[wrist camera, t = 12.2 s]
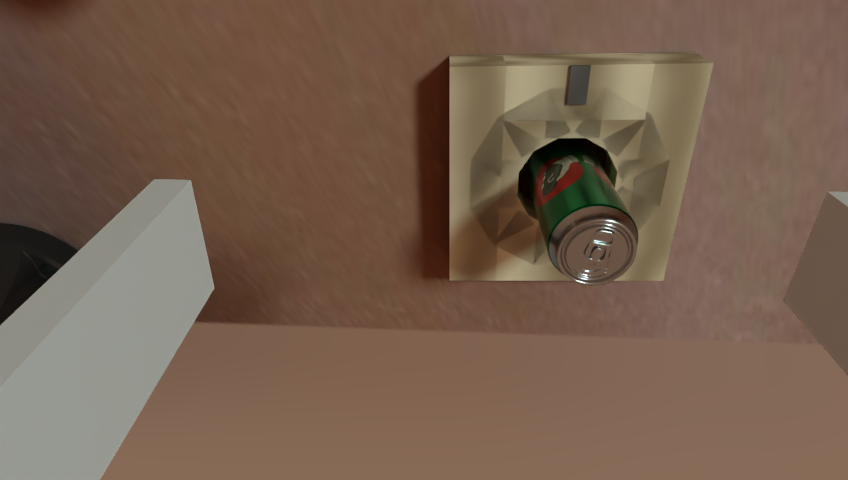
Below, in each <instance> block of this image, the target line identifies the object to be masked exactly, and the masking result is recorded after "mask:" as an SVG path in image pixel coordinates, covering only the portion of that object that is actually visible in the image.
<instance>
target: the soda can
mask: <svg viewBox="0 0 848 480" xmlns="http://www.w3.org/2000/svg"><path fill="white" fill-rule="evenodd" d="M526 180H527V183H528V187H529V190H530V194H531V197H532V201H533V204H534V207H535V211H536V214H537V218H538V221H539V225H540V228H541V232H542V235H543V238H544V242H545V245H546V249H547V252H548V255H549V258H550V261H551V262H552V264H553V265H554V267H555V268H556V269H557V270H558V271H559V272H561V273H562V274H564V275H565V276H566V277H567V278H569V279H570V280H572V281H573V282H576V283H578V284H582V285H589V286H596V285H602V284H606V283H609V282H612V281H614V280H616V279H617V278H619V277H621V276H622V275H623V274H624V273H625V272H626V271H627V270H628V269H629V268H630V267H631V265H632V264H633V262H634V260H635V257H636V252H637V245H638V230H637V226H636V224H635V222H634V220H633V218H632V217H631V215H630V213H629V212H628V210H627V208H626V207H625V205H624V203H623V202H622V200H621V198H620V197H619V195H618V193H617V192H616V190H615V188H614V186H613V185H612V183H611V181H610V180H609V178H608V176H607V175H606V173H605V171H604V170H603V168H602V166H601V165H600V163H599V161H598V159H597V158H596V156H595V154H594V153H593V151H592V150H591V148H590V147H589V146H588V145H587V144H585V143H584V142H582V141H580V140H578V139H575V138H558V139H556V140H554V141H552V142H550V143H548V144H546V145H545V146H543V147H541V148H539V149H537V150H535V151H534V152H533V153H532V154H531V156H530V158H529V160H528V162H527V166H526Z"/></svg>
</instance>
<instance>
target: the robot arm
mask: <svg viewBox="0 0 848 480" xmlns="http://www.w3.org/2000/svg"><path fill="white" fill-rule="evenodd" d="M213 290H214V283H213V279H212V274H211V270H210V265H209V261H208V256H207V252H206V247H205V242H204V238H203V233H202V229H201V224H200V220H199V215H198V211H197V206H196V202H195V197H194V193H193V188H192V183H191V180H164V179H154V180H153V181H152V182H151V183H150V184H149V185H148V186H147V187H146V188H145V189H144V190H143V191H142V192H141V193H140V194H138V195H137V196H136V197H135V198H134V199H133V200H132V201H131V202H130V203H129V204H128V205H127V206H126V207H125V208H124V209H123V210H122V211H121V212H119V213H118V214H117V215H116V216H115V217H114V218H113V219H112V220H111V221H110V222H109V223H108V224H107V225H106V226H105V227H104V228H103V229H102V230H100V231H99V232H98V233H97V234H96V235H95V236H94V237H93V238H92V239H91V240H90V241H89V242H88V243H87V244H86V245H85V246H84V247H83V248H81V249H80V250H79V251H77V250H76V249H74V248H73V247H71V246H70V245H68V244H67V243H65V242H63V241H61V240H59V239H57V238H55V237H53V236H51V235H49V234H46V233H44V232H41V231H38V230H35V229H32V228H28V227H24V226H20V225H13V224H3V223H0V480H100V479H101V477H102V475H103V474H104V472H105V470H106V469H107V467H108V465H109V464H110V462H111V460H112V458H113V457H114V455H115V454H116V451H117V450H118V448H119V447H120V445H121V443H122V442H123V440H124V438H125V437H126V435H127V433H128V432H129V430H130V428H131V427H132V425H133V423H134V422H135V420H136V418H137V417H138V415H139V413H140V412H141V410H142V408H143V406H144V405H145V403H146V401H147V400H148V398H149V397H150V395H151V393H152V392H153V390H154V388H155V387H156V385H157V383H158V382H159V380H160V378H161V376H162V375H163V373H164V372H165V370H166V368H167V367H168V364H169V363H170V362H171V360H172V358H173V356H174V355H175V353H176V351H177V350H178V348H179V346H180V345H181V343H182V341H183V340H184V338H185V336H186V335H187V333H188V331H189V330H190V328H191V326H192V325H193V323H194V321H195V320H196V318H197V316H198V315H199V313H200V311H201V310H202V308H203V306H204V305H205V303H206V301H207V300H208V298H209V296H210V295H211V293H212V291H213ZM783 301H784V302H785V303H786V304H787V306H788V307H789V308H790V309H791V310H792V311H793V313H794V314H795V315H796V316H797V317H798V318H799V320H800V321H801V322H802V323H803V324H804V325H805V327H806V328H807V329H808V330H809V331H810V332H811V333H812V335H813V336H814V337H815V338H816V339H817V340H818V342H819V343H820V344H821V345H822V346H823V347H824V349H825V350H826V351H827V352H828V353H829V354H830V356H831V357H832V358H833V359H834V360H835V361H836V362H837V364H838V365H839V366H840V367H841V368H842V369H843V370H844V372H845V373H846V374H847V375H848V192H827V194H826V197H825V199H824V202H823V204H822V207H821V209H820V212H819V214H818V216H817V219H816V221H815V224H814V226H813V229H812V231H811V234H810V236H809V239H808V241H807V244H806V246H805V248H804V251H803V253H802V256H801V258H800V261H799V263H798V266H797V268H796V271H795V273H794V276H793V278H792V280H791V283H790V285H789V288H788V290H787V293H786V295H785V298H784V300H783Z"/></svg>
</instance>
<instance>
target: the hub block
mask: <svg viewBox="0 0 848 480" xmlns="http://www.w3.org/2000/svg"><path fill="white" fill-rule="evenodd" d="M713 64H714V63H712V62H711V61H709V60H707V59H706V58H704V57H702V56H701V55H699V54H697V53H696V52H670V53H604V54H538V55H472V56H449V280H459V281H572V280H570V279H569V278H567V277H566V276H565V275H564V274H562V273H561V272H559V271H558V270H557V269H556V268H555V267H554V265H553V264H552V262H551V261H550V258H549V255H548V252H547V249H546V245H545V242H544V238H543V235H542V232H541V228H540V225H539V221H538V218H537V214H536V211H535V207H534V204H533V201H531V200H529V199H527V198H525V197H523V195H522V193H521V191H520V190H519V188H518V179H519V172H520V170H521V169H522V167H523V166H524V164H525V163H526V162H527V160H528V159H529V157H530V156H531V154H532V153H533V152H534V151H535V150H537V149H539V148H541V147H543V146H545V145H546V144H548V143H550V142H552V141H554V140H556V139H558V138H586V139H588V140H590V141H592V142H593V143H595V144H597V145H599V146H600V147H602V148H604V150H605V153H606V155H607V156H606V162H605V169H604V171H605V173H606V175H607V176H608V178H609V180H610V181H611V183H612V185H613V186H614V188H615V190H616V192H617V193H618V195H619V197H620V198H621V200H622V202H623V203H624V205H625V207H626V208H627V210H628V212H629V213H630V215H631V217H632V218H633V220H634V222H635V224H636V226H637V230H638V245H637V252H636V257H635V260H634V262H633V264H632V265H631V267H630V268H629V269H628V270H627V271H626V272H625V273H624V274H623V275H622V276H621V277H619V278H617V279H616V280H614V281H663V279H664V275H665V270H666V266H667V262H668V257H669V253H670V249H671V244H672V240H673V236H674V232H675V227H676V223H677V219H678V214H679V210H680V206H681V201H682V197H683V193H684V188H685V184H686V180H687V176H688V171H689V167H690V163H691V158H692V154H693V150H694V145H695V141H696V137H697V132H698V128H699V124H700V120H701V115H702V111H703V107H704V102H705V98H706V94H707V89H708V85H709V81H710V76H711V72H712V68H713Z"/></svg>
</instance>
